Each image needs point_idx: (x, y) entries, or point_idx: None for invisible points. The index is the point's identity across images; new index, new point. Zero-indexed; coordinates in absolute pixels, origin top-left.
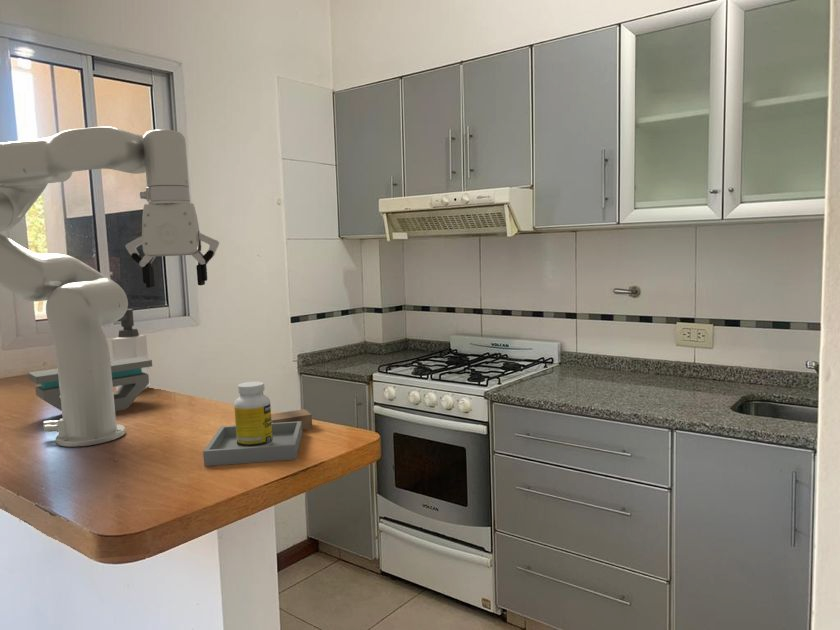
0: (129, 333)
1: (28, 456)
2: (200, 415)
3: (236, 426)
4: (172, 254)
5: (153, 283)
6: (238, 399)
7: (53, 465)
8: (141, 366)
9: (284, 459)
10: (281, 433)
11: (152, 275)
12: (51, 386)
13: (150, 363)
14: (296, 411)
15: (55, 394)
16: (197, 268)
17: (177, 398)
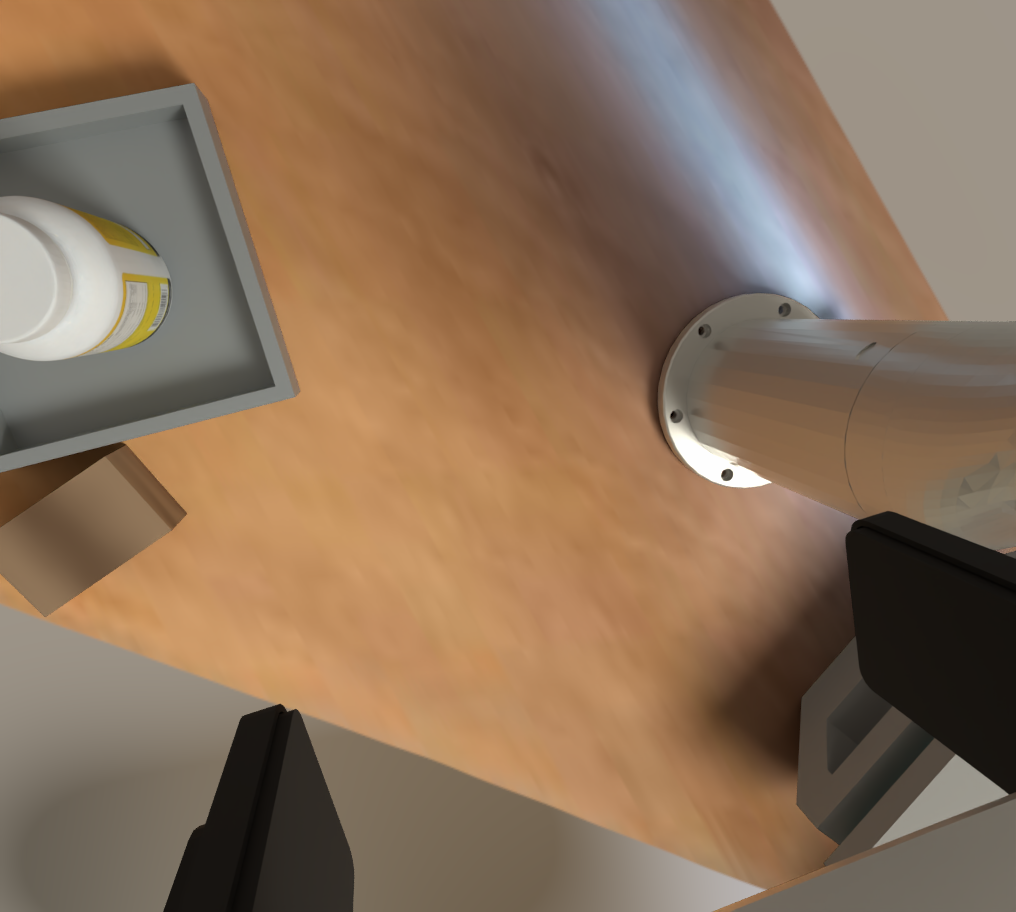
0: None
1: (831, 213)
2: (521, 650)
3: (125, 235)
4: (781, 894)
5: (879, 662)
6: (66, 234)
7: (711, 126)
8: (854, 837)
9: None
10: (79, 432)
11: (961, 706)
12: None
13: None
14: (64, 582)
15: None
16: (232, 881)
17: (700, 827)
